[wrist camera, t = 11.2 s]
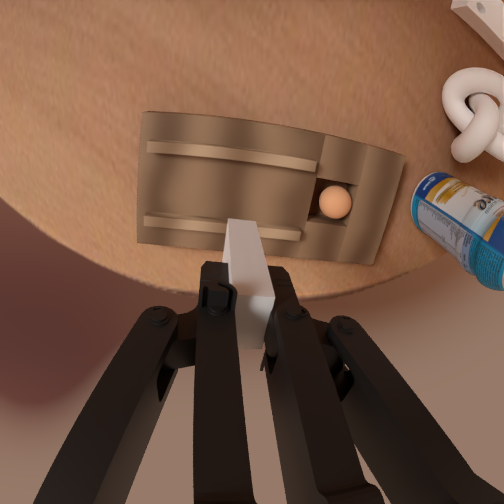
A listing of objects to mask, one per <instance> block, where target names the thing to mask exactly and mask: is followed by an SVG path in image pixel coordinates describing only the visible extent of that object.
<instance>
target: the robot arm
mask: <svg viewBox="0 0 504 504" xmlns="http://www.w3.org/2000/svg"><path fill="white" fill-rule="evenodd" d="M264 342H265V348H266V349H265V353H264V356H263V360H262V363H261V368H260V371H263V368H264V366H265V372H266V378H267V384H268V390H269V397H270V403H271V409H272V415H273V421H274V427H275V433H276V440H277V445H278V452H279V457H280V464H281V470H282V476H283V482H284V488H285V494H286V500H287V504H385V503H384V499H383V496H382V494H381V492H380V490H379V489H378V488H377V487H376V486H375V485H373V484H370V483H368V482H367V481H366V480H365V478H364V475H363V471H362V468H361V465H360V462H359V458H358V455H357V452H356V449H355V446H356V447H357V449H358V451H359V452H360V454H361V455H362V457H363V459H364V460H365V462H366V464H367V465H368V467H369V468H370V470H371V472H372V473H373V475H374V476H375V478H376V480H377V481H378V483H379V485H380V486H381V488H382V490H383V491H384V493H385V495H386V496H387V498H388V499H389V501H390V503H391V504H504V494H503V493H502V492H500V491H499V490H497V489H496V488H495V487H493V486H492V485H490V484H489V483H487V482H486V481H485V480H483V479H482V478H480V477H479V476H477V475H476V474H475V473H474V472H473V471H472V470H471V468H470V466H469V465H468V464H467V462H466V461H465V460H464V458H463V457H462V455H461V454H460V453H459V451H458V450H457V449H456V447H455V446H454V444H453V443H452V442H451V440H450V439H449V438H448V436H447V435H446V434H445V432H444V431H443V430H442V428H441V427H440V426H439V425H438V423H437V422H436V420H435V419H434V418H433V416H432V415H431V414H430V412H429V411H428V410H427V408H426V407H425V406H424V405H423V403H422V402H421V401H420V399H419V398H418V397H417V395H416V394H415V393H414V392H413V390H412V389H411V388H410V386H409V385H408V384H407V383H406V381H405V380H404V379H403V377H402V376H401V375H400V374H399V372H398V371H397V370H396V369H395V367H394V366H393V365H392V364H391V363H390V361H389V360H388V359H387V357H386V356H385V355H384V354H383V352H382V351H381V350H380V349H379V347H378V346H377V345H376V344H375V343H374V341H373V340H372V339H371V338H370V336H368V334H367V333H366V331H365V330H364V329H363V328H362V327H361V325H360V324H359V323H358V322H356V321H355V320H354V319H352V318H350V317H347V316H336V317H333V318H332V319H331V321H330V323H327V322H323V321H318V320H316V319H312V318H311V316H310V314H309V312H308V311H307V309H305V308H304V307H303V306H301V305H299V302H298V299H297V296H296V293H295V290H294V287H293V284H292V281H291V279H290V276H289V273H288V272H287V271H286V270H285V269H284V268H283V267H279V266H267V263H266V259H265V255H264V251H263V247H262V243H261V239H260V236H259V232H258V228H257V224H256V221H249V220H239V219H229V218H228V222H227V230H226V237H225V245H224V253H223V261H222V262H211V261H206V262H205V263H204V264H203V265H202V267H201V277H200V289H199V302H198V305H197V306H196V308H195V309H193V310H192V311H190V312H188V313H184V314H178V315H177V314H176V313H175V312H174V311H173V310H172V309H170V308H168V307H163V306H154V307H150V308H148V309H146V310H145V311H144V312H143V313H142V314H141V315H140V317H139V318H138V320H137V321H136V323H135V324H134V326H133V328H132V329H131V331H130V332H129V334H128V335H127V337H126V339H125V340H124V342H123V343H122V345H121V346H120V348H119V350H118V351H117V353H116V354H115V356H114V357H113V359H112V361H111V363H110V364H109V366H108V367H107V369H106V371H105V372H104V374H103V375H102V377H101V379H100V380H99V382H98V384H97V386H96V387H95V389H94V391H93V392H92V394H91V396H90V397H89V399H88V401H87V402H86V404H85V406H84V407H83V409H82V411H81V413H80V414H79V416H78V418H77V420H76V421H75V423H74V425H73V427H72V429H71V431H70V432H69V434H68V436H67V438H66V440H65V441H64V444H63V445H62V447H61V449H60V451H59V453H58V455H57V456H56V458H55V460H54V462H53V464H52V466H51V468H50V470H49V472H48V474H47V476H46V478H45V480H44V482H43V484H42V486H41V488H40V490H39V492H38V494H37V496H36V498H35V500H34V502H33V504H125V502H126V499H127V497H128V494H129V491H130V489H131V486H132V484H133V481H134V479H135V476H136V473H137V471H138V468H139V466H140V463H141V461H142V458H143V455H144V453H145V450H146V448H147V445H148V443H149V440H150V438H151V435H152V433H153V430H154V428H155V425H156V423H157V420H158V418H159V416H160V413H161V410H162V408H163V406H164V403H165V401H166V398H167V396H168V393H169V391H170V389H171V386H172V384H173V381H174V379H175V377H176V374H177V372H178V368H183V367H188V366H194V365H195V380H194V416H193V417H194V418H193V484H194V485H193V488H194V504H257V503H256V501H255V499H254V495H253V488H252V480H251V471H250V462H249V453H248V444H247V435H246V427H245V426H246V425H245V416H244V406H243V396H242V385H241V375H240V364H239V354H238V348H244V349H262V346H263V343H264ZM345 364H346V365H347V366H348V368H349V369H350V370H348V369H347V368H346V366H345ZM354 444H355V446H354Z"/></svg>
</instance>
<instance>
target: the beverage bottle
mask: <svg viewBox="0 0 504 504" xmlns="http://www.w3.org/2000/svg"><path fill="white" fill-rule="evenodd" d="M411 216H412V219H413V222H414V223H415V225H416V226H417V227H418V228H419V229H420V230H421V231H422V232H424V233H425V234H427V235H429V236H430V237H431V238H432V239H434V240H435V241H436V242H437V243H438V244H440V245H441V246H442V247H443V248H444V249H445V250H446V251H448V252H449V253H450V254H451V255H452V256H453V257H454V258H455V259H457V260H458V262H459V264H460V266H461V267H462V268H463V269H464V270H465V271H467V272H468V273H469V274H471V275H475V276H476V277H477V279H478V281H479V282H480V283H481V284H482V285H484V286H485V287H488V288H490V289H493V290H498V291H504V202H503V201H502V200H500V199H498V198H496V197H492V196H490V195H488V194H486V193H484V192H482V191H480V190H478V189H476V188H474V187H472V186H470V185H468V184H466V183H464V182H462V181H460V180H458V179H456V178H454V177H453V176H451V175H449V174H447V173H444V172H434V173H431V174H429V175H427V176H426V177H424V178H423V179H422V180H421V181H420V182H419V184H418V185H417V187H416V188H415V190H414V193H413V196H412V199H411Z"/></svg>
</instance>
